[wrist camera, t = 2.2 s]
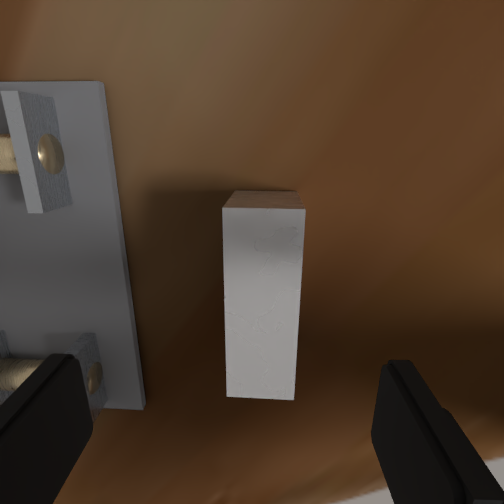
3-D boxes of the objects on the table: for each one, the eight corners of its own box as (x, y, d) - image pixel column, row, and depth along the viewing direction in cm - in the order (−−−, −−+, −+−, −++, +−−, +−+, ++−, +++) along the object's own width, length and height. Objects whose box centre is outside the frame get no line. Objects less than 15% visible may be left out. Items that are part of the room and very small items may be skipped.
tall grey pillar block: (297, 191, 18) (305, 209, 14) (289, 343, 22) (293, 399, 17) (235, 190, 18) (222, 207, 14) (237, 340, 22) (226, 396, 17)
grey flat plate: (103, 82, 17) (97, 81, 16) (145, 403, 24) (142, 410, 23) (-112, 84, 18) (-125, 82, 17) (-11, 395, 24) (-17, 401, 24)
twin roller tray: (53, 97, 17) (17, 90, 14) (108, 400, 23) (89, 429, 21) (-77, 98, 17) (-133, 91, 15) (12, 395, 23) (-17, 423, 21)
